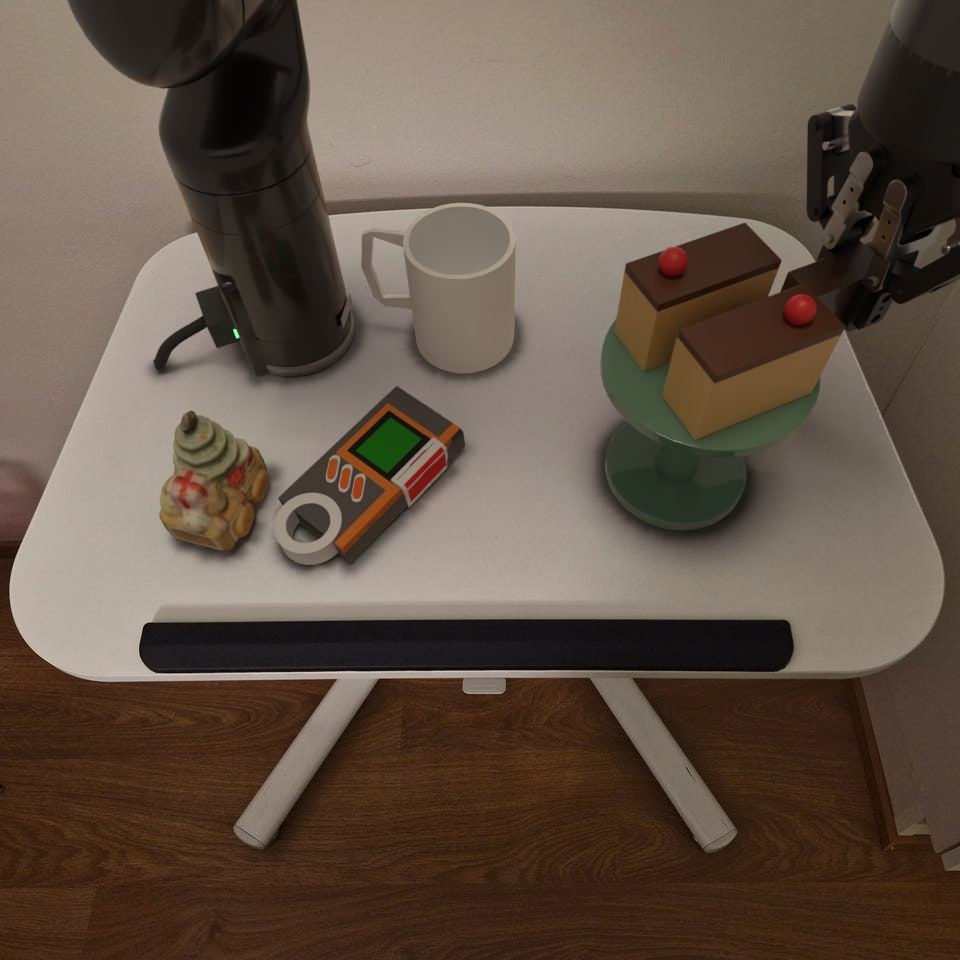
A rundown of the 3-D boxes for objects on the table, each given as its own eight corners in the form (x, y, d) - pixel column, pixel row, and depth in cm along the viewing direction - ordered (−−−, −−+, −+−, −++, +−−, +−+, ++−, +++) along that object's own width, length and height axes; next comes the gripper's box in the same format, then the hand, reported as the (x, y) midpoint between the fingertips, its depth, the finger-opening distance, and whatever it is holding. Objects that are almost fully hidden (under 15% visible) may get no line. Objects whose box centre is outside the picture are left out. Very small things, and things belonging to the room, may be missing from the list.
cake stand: (641, 578, 53) (674, 482, 43) (553, 436, 59) (563, 325, 49) (801, 508, 55) (867, 402, 45) (700, 380, 62) (738, 262, 52)
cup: (386, 289, 68) (369, 192, 60) (521, 306, 67) (524, 208, 58) (360, 360, 64) (338, 265, 56) (504, 379, 63) (504, 285, 54)
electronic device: (250, 519, 53) (399, 379, 59) (263, 538, 56) (404, 402, 61) (319, 576, 51) (467, 424, 56) (329, 593, 53) (470, 446, 59)
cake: (694, 441, 44) (723, 357, 38) (613, 332, 49) (628, 243, 43) (811, 393, 46) (856, 306, 40) (722, 292, 50) (751, 201, 45)
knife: (859, 286, 50) (885, 236, 47) (884, 310, 49) (912, 260, 46) (657, 362, 47) (668, 314, 44) (678, 390, 46) (692, 343, 43)
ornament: (248, 562, 54) (201, 484, 46) (163, 552, 55) (102, 473, 46) (279, 467, 59) (242, 380, 50) (201, 458, 59) (151, 371, 51)
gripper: (813, -27, 37) (725, 257, 52) (1038, 131, 30) (863, 408, 45) (938, -62, 39) (819, 224, 53) (1180, 81, 32) (967, 365, 46)
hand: (840, 307), depth 49 cm, fingers closed on knife, 2 cm apart
